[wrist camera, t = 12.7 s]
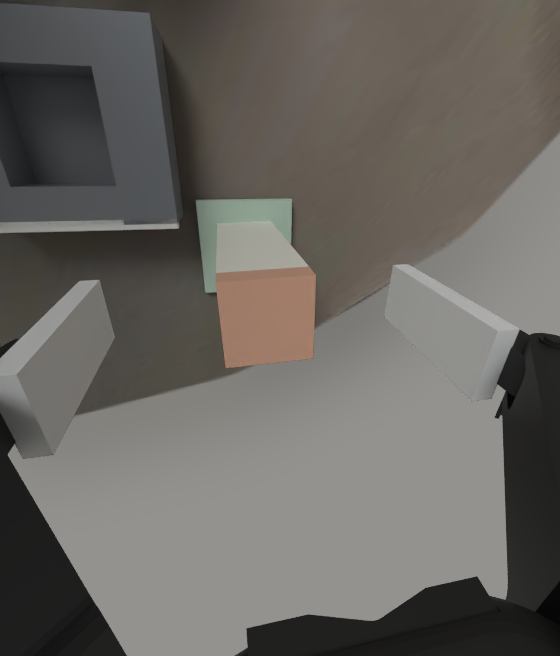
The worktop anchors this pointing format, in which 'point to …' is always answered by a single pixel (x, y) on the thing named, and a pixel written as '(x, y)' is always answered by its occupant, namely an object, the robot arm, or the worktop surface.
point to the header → (84, 122)
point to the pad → (236, 213)
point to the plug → (263, 296)
